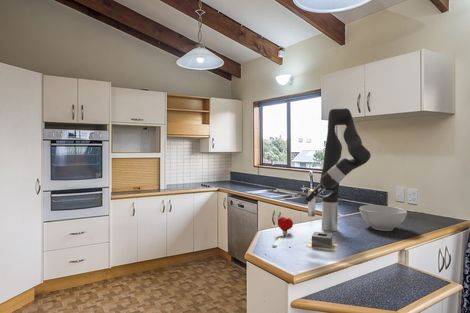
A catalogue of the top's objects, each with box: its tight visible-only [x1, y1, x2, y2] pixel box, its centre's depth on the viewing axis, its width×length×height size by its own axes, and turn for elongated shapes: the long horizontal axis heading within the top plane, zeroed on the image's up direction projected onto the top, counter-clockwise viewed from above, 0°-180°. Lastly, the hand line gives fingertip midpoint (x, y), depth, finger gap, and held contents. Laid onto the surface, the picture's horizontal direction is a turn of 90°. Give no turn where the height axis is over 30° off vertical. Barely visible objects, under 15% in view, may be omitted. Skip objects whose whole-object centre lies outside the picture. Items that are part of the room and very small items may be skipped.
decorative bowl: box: [359, 204, 408, 232], centre depth 194 cm, size 27×27×12 cm
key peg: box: [307, 189, 316, 217], centre depth 156 cm, size 4×4×13 cm
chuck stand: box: [305, 231, 338, 252], centre depth 155 cm, size 14×14×6 cm
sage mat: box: [272, 237, 285, 248], centre depth 159 cm, size 14×12×1 cm
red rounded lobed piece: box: [277, 216, 294, 236], centre depth 176 cm, size 9×7×10 cm
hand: (307, 199), depth 156 cm, fingers closed on key peg, 3 cm apart
